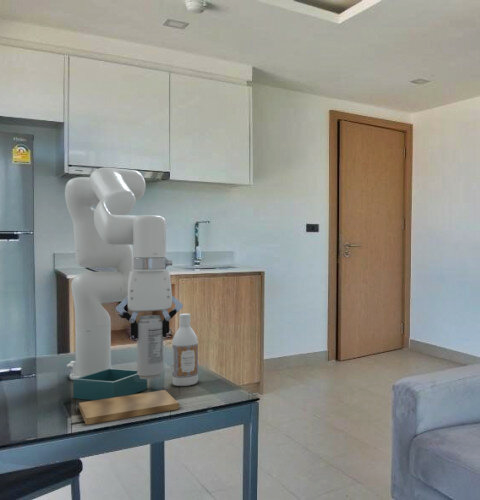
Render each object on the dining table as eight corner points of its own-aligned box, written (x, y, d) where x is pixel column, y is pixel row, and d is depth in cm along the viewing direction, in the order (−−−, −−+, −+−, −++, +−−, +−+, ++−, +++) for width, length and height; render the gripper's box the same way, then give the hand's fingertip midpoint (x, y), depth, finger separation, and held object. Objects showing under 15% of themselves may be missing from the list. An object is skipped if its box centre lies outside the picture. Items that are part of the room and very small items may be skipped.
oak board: (86, 424, 118) (85, 418, 118) (78, 408, 129) (78, 402, 129) (178, 408, 129) (179, 402, 129) (164, 395, 141) (164, 389, 141)
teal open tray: (73, 398, 138) (73, 379, 138) (109, 385, 150) (109, 368, 150) (113, 402, 135) (113, 382, 135) (147, 388, 147) (147, 370, 147)
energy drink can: (153, 372, 136) (152, 314, 136) (168, 375, 133) (168, 315, 133) (131, 377, 131) (131, 317, 131) (147, 380, 128) (147, 318, 128)
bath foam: (175, 388, 148) (175, 316, 148) (169, 382, 154) (169, 313, 153) (200, 384, 152) (200, 314, 151) (194, 379, 158) (194, 312, 157)
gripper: (185, 264, 139) (185, 332, 139) (111, 265, 132) (112, 337, 132) (188, 265, 132) (188, 337, 132) (110, 266, 125) (111, 342, 125)
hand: (150, 336), depth 132 cm, fingers closed on energy drink can, 6 cm apart
